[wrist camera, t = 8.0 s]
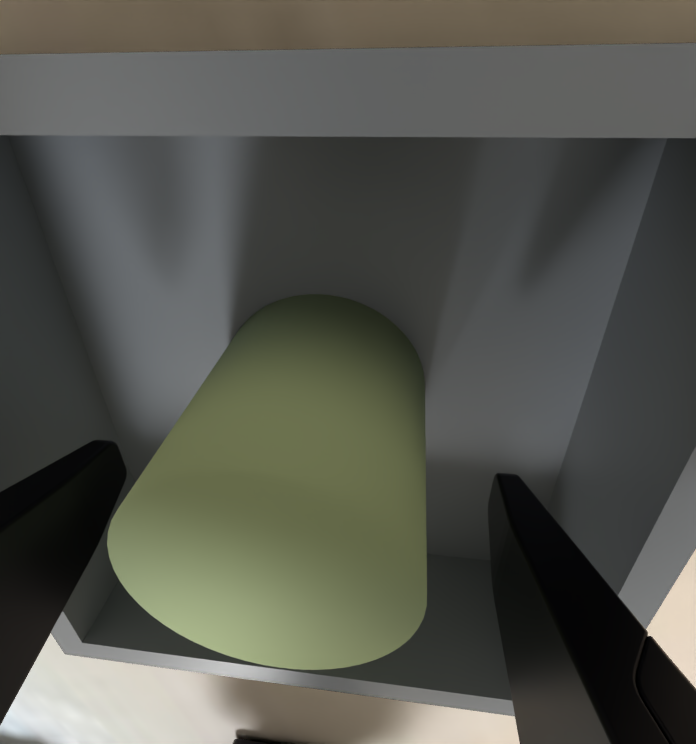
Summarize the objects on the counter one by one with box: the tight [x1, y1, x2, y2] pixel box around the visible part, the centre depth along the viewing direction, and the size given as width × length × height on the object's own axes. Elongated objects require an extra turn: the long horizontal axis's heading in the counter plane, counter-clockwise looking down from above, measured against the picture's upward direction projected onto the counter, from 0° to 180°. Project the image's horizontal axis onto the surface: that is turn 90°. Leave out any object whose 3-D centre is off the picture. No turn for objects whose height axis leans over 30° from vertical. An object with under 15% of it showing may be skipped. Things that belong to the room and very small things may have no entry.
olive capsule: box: [107, 294, 427, 670], centre depth 10 cm, size 5×5×6 cm
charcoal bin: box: [0, 43, 696, 716], centre depth 11 cm, size 14×14×4 cm
